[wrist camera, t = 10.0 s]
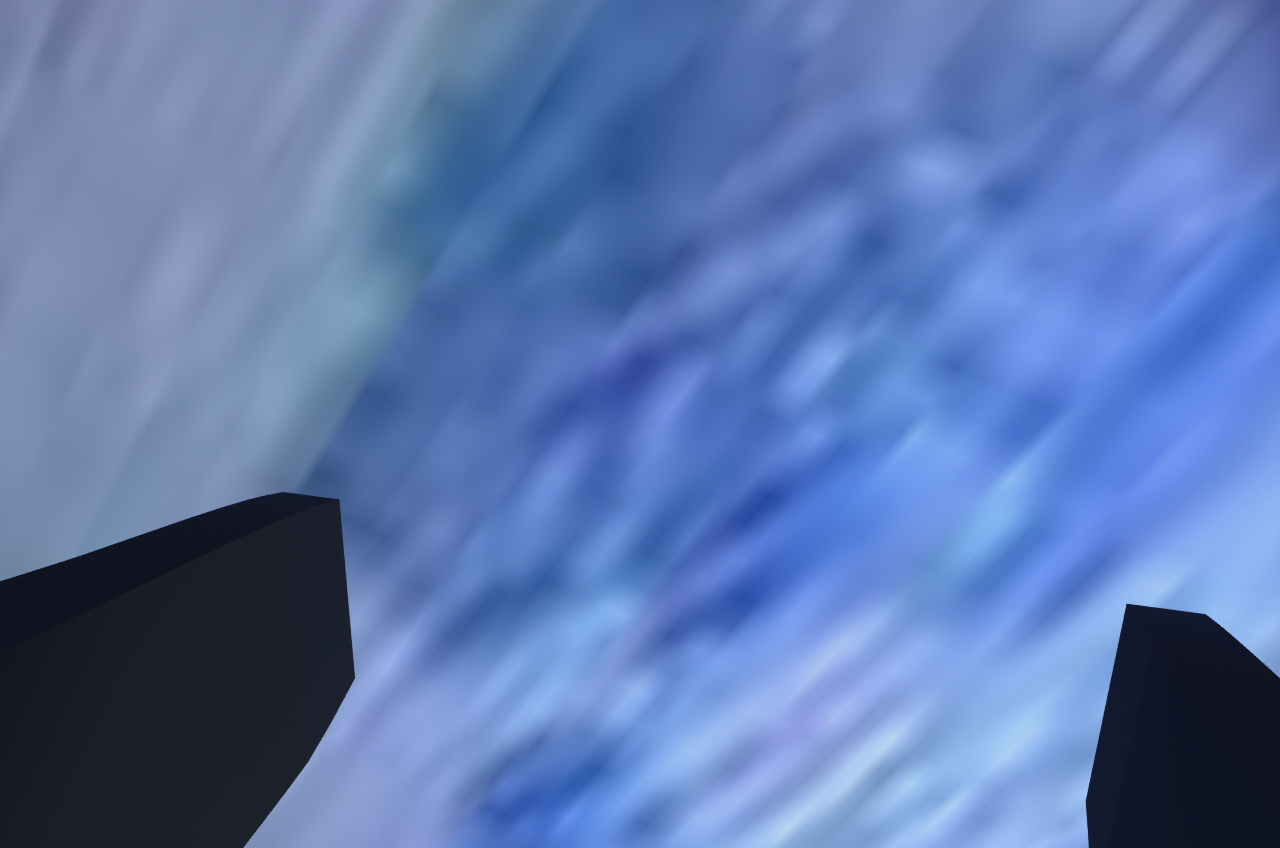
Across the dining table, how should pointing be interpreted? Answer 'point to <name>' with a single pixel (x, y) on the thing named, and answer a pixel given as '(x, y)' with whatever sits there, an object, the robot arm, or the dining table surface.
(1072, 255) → the dining table surface
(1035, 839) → the dining table surface
